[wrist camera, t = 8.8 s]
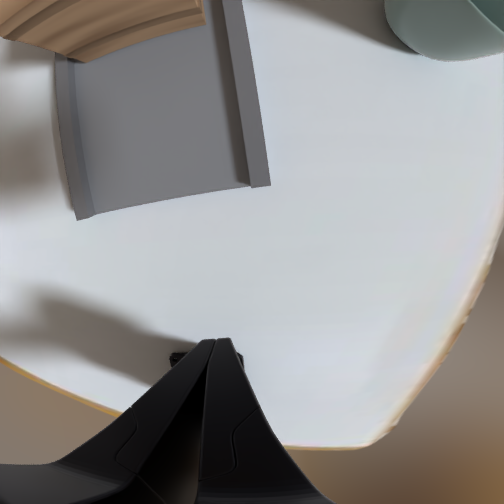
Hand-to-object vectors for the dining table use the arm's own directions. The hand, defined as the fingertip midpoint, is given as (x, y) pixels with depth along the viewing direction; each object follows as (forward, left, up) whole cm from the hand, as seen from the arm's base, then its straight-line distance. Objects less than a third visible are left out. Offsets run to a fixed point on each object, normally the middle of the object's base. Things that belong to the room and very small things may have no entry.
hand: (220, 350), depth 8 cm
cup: (+16, -14, -13) cm, 25 cm away
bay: (+14, +6, -13) cm, 20 cm away
